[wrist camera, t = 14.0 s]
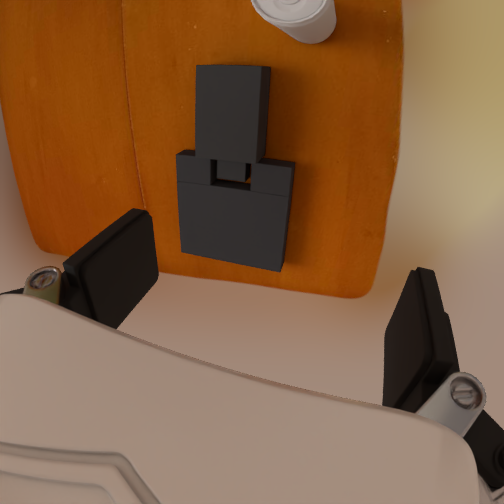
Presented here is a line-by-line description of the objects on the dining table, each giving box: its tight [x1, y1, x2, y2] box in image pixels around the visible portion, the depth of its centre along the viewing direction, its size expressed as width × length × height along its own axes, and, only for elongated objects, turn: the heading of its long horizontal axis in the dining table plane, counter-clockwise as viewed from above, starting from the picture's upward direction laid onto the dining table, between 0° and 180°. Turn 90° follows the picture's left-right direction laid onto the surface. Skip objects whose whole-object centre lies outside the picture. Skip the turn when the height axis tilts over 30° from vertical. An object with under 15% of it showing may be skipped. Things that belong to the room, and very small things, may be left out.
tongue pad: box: [195, 65, 271, 182], centre depth 29 cm, size 6×12×4 cm, turn 177°
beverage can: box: [251, 0, 336, 44], centre depth 18 cm, size 5×5×12 cm
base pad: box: [176, 150, 295, 272], centre depth 35 cm, size 12×12×2 cm
